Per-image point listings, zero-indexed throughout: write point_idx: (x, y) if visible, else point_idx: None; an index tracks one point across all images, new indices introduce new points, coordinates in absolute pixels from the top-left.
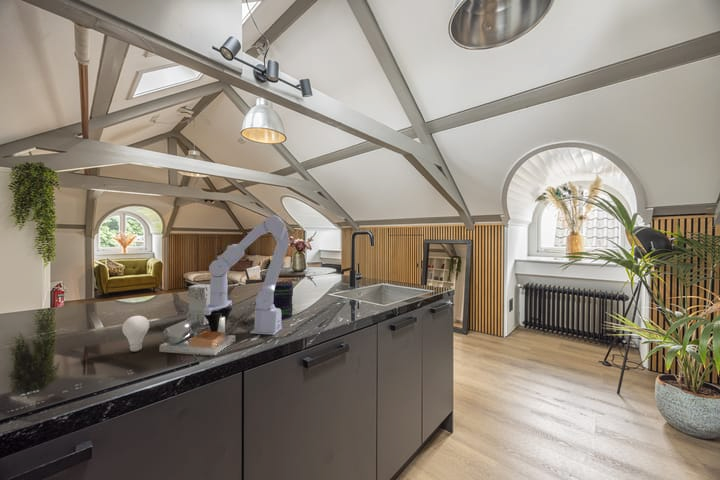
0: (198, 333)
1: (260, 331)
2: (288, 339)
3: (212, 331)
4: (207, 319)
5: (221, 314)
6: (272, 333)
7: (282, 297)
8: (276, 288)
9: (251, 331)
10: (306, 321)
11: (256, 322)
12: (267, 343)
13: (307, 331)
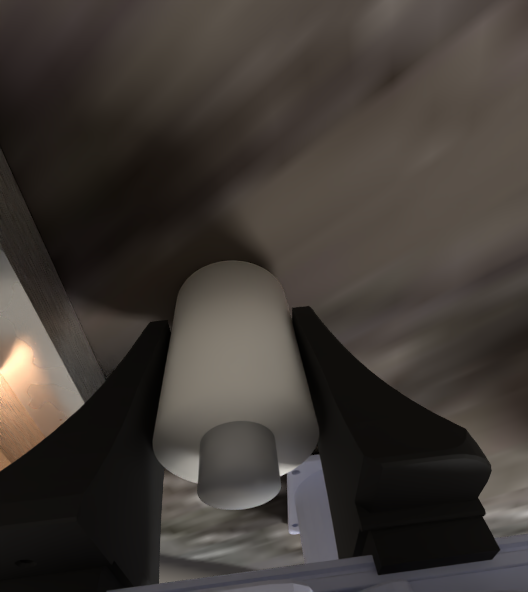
0: (10, 278)
1: (295, 503)
2: (251, 564)
3: (6, 466)
4: (57, 437)
5: (260, 500)
6: (289, 530)
7: None
8: None
9: (303, 465)
10: (503, 530)
11: (313, 548)
12: (181, 544)
13: None
